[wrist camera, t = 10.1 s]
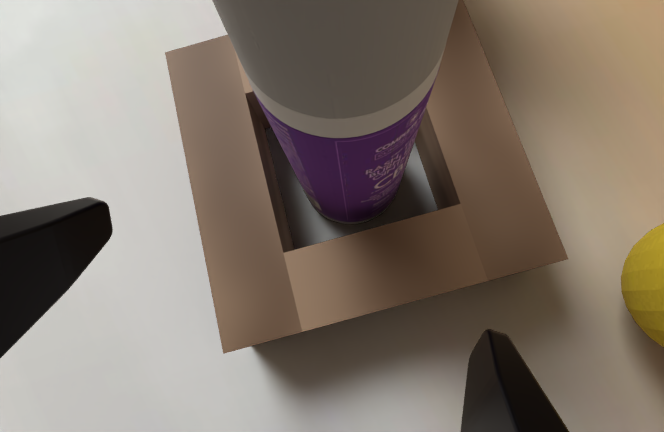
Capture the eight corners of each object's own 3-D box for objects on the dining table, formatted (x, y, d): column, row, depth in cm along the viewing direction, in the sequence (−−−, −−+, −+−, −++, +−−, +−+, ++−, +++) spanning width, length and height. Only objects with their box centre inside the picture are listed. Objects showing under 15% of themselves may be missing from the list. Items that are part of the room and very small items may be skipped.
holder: (249, 343, 18) (223, 353, 14) (197, 93, 21) (165, 52, 17) (528, 267, 18) (568, 258, 14) (436, 26, 21) (451, -29, 17)
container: (386, 235, 19) (484, -12, 4) (291, 210, 19) (66, -88, 4) (409, 144, 19) (563, -340, 5) (318, 123, 20) (203, -366, 5)
